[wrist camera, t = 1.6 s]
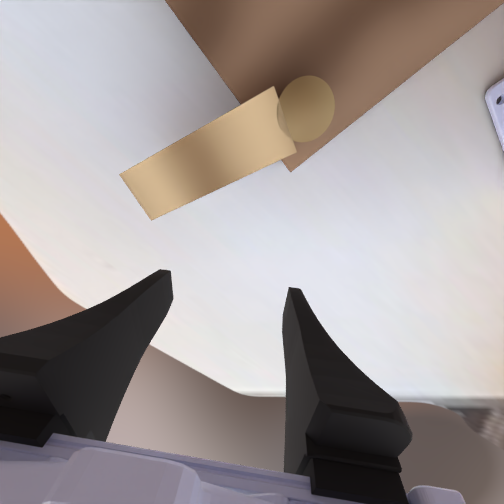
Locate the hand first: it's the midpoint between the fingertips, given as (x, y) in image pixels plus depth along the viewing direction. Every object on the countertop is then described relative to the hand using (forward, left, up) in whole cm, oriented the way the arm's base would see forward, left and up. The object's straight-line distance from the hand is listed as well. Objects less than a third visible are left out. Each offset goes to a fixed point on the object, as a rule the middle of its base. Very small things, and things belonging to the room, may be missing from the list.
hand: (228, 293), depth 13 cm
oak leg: (+6, -4, -7) cm, 10 cm away
